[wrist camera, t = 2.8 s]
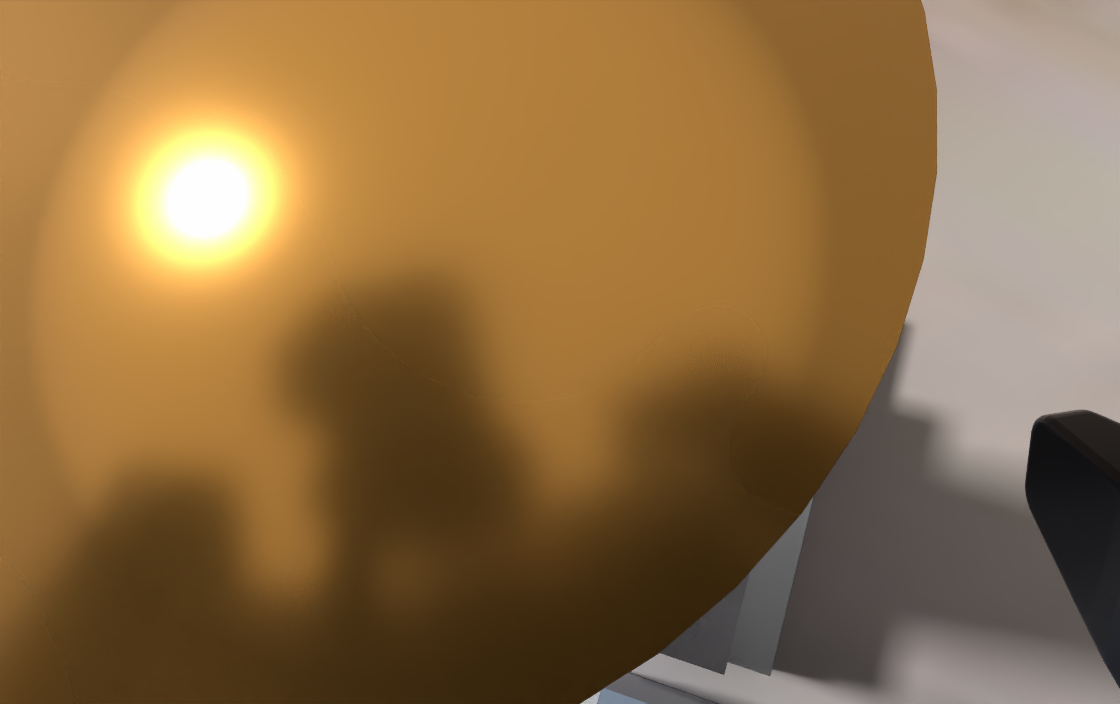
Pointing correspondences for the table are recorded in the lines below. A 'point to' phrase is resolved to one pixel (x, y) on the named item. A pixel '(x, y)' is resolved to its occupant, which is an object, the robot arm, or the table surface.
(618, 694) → the tray
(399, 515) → the stop pin
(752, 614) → the square socket base
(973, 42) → the table surface
